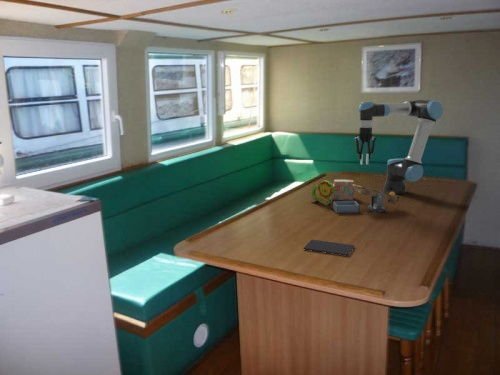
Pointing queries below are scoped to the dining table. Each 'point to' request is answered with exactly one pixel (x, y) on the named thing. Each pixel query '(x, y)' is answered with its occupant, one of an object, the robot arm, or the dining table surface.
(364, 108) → the robot arm
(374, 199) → the fulcrum
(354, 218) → the dining table surface
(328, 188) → the toy lion
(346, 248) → the notebook
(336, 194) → the stack of blocks
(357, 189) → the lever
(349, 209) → the tray
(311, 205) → the dining table surface
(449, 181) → the dining table surface
